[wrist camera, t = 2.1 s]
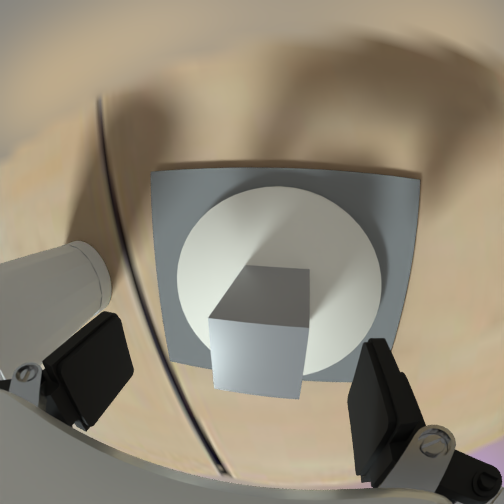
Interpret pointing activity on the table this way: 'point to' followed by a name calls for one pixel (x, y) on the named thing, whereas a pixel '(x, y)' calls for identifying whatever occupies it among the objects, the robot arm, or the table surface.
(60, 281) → the cup
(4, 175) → the table surface
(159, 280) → the mat
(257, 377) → the lid
